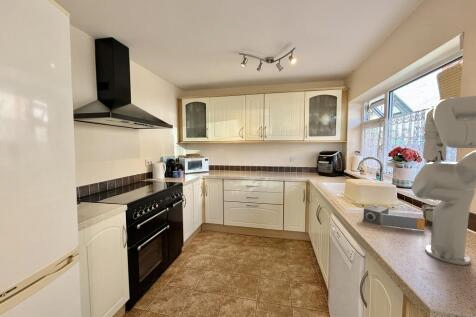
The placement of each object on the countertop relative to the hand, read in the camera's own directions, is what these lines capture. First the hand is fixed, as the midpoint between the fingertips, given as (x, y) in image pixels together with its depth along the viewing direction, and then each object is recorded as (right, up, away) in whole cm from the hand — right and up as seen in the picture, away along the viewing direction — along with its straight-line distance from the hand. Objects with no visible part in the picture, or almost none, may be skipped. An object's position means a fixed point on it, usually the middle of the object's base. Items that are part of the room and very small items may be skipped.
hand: (431, 174), depth 99 cm
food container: (+13, -28, +14) cm, 34 cm away
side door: (-7, -28, +9) cm, 30 cm away
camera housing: (-13, -28, +20) cm, 36 cm away
